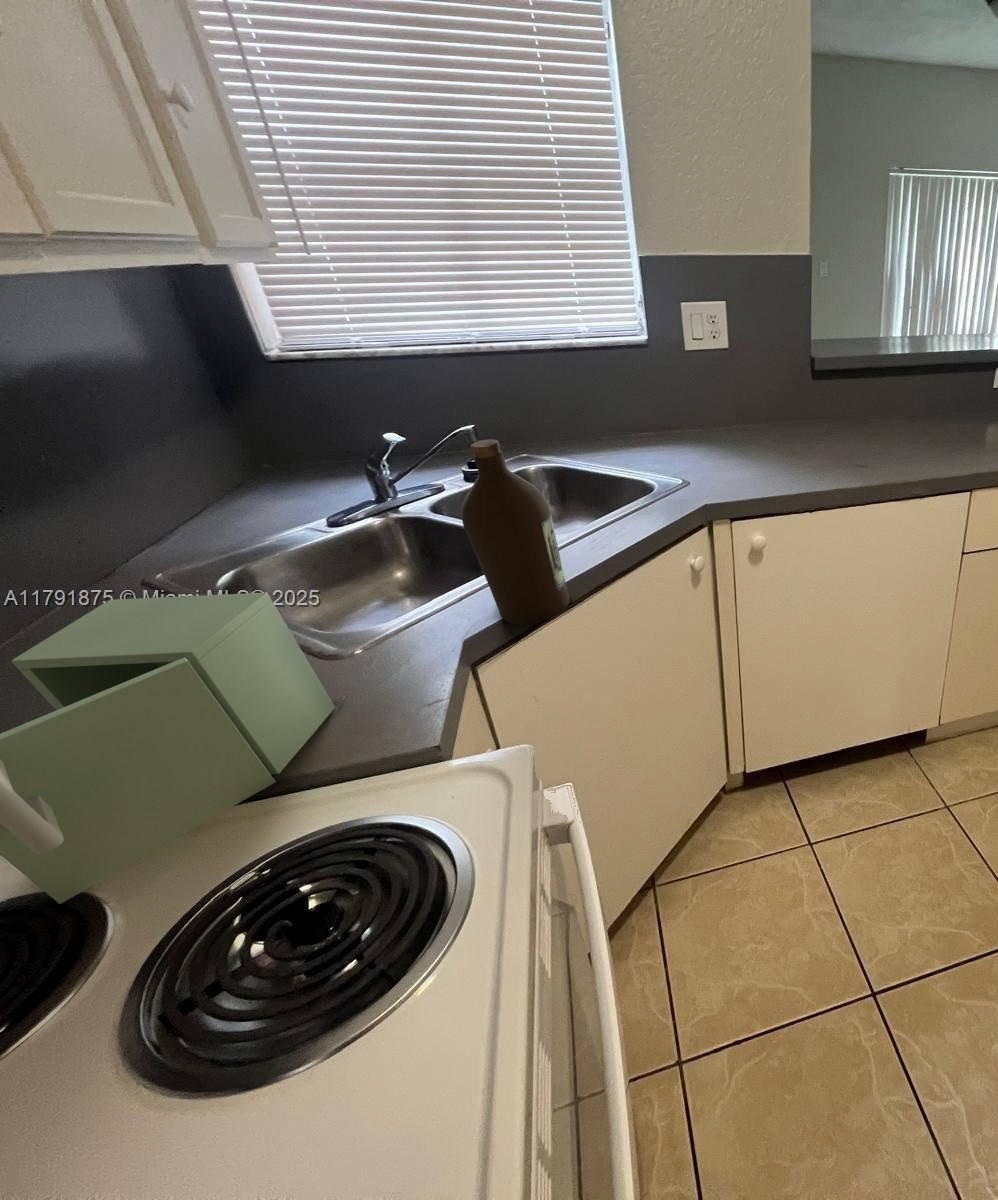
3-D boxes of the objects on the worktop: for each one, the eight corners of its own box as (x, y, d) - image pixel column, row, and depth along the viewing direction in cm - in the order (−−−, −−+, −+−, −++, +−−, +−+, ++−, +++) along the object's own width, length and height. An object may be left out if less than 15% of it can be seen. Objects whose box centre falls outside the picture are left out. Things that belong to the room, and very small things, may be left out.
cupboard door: (302, 815, 61) (209, 685, 52) (81, 950, 51) (-85, 817, 42) (276, 783, 65) (184, 656, 56) (64, 904, 54) (-93, 771, 45)
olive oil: (498, 640, 85) (434, 464, 71) (497, 602, 93) (439, 437, 79) (579, 621, 88) (532, 449, 74) (571, 585, 96) (527, 424, 83)
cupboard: (283, 781, 65) (191, 652, 56) (128, 788, 65) (9, 660, 56) (339, 714, 74) (267, 592, 64) (201, 720, 73) (109, 599, 64)
